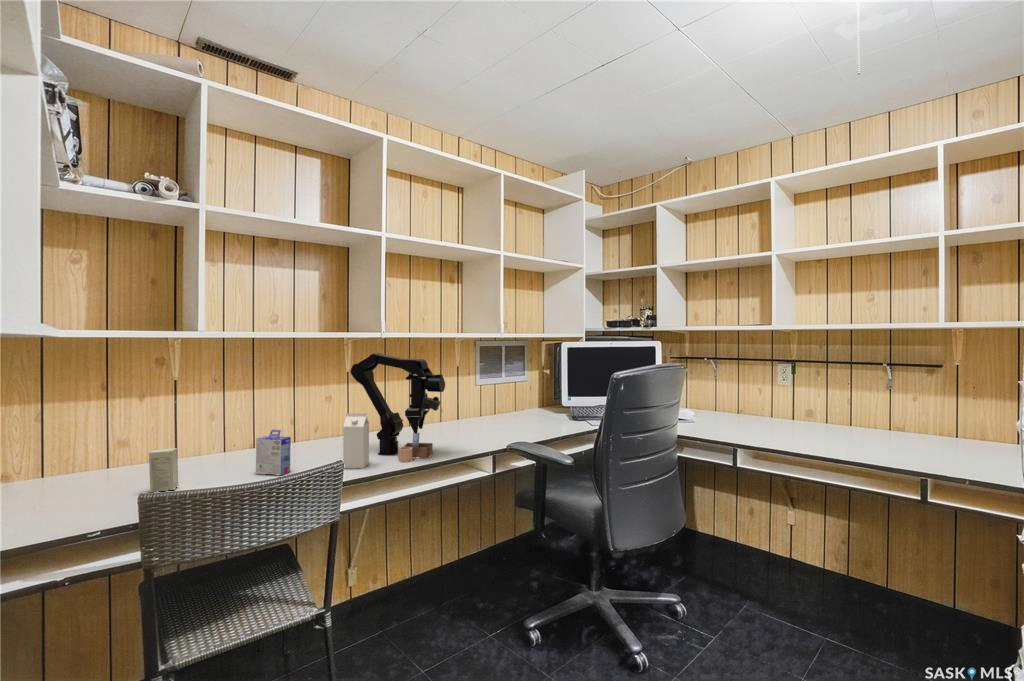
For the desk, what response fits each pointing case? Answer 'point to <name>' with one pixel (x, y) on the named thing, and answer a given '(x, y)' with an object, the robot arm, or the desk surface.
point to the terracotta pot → (405, 454)
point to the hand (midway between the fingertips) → (418, 431)
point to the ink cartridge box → (273, 454)
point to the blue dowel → (415, 440)
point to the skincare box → (163, 469)
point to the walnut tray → (421, 450)
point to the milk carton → (356, 440)
